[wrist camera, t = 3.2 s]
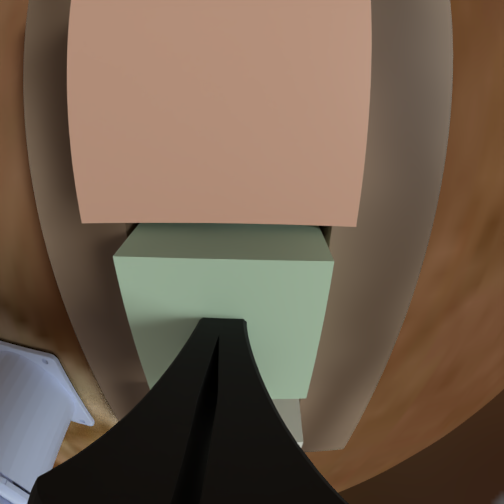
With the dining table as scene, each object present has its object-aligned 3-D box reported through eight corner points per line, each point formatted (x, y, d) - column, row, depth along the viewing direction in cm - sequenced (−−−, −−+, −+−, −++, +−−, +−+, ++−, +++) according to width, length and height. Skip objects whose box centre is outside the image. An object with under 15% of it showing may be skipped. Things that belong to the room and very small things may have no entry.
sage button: (168, 333, 14) (150, 391, 11) (149, 211, 11) (112, 256, 8) (298, 337, 14) (306, 398, 11) (313, 213, 11) (334, 261, 8)
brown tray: (136, 417, 18) (130, 440, 17) (57, 6, 7) (29, -3, 5) (339, 425, 18) (343, 448, 17) (422, 0, 7) (448, -12, 5)
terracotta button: (134, 181, 9) (81, 223, 6) (130, 3, 7) (75, -30, 3) (323, 182, 9) (355, 226, 6) (330, -3, 7) (367, -47, 3)
